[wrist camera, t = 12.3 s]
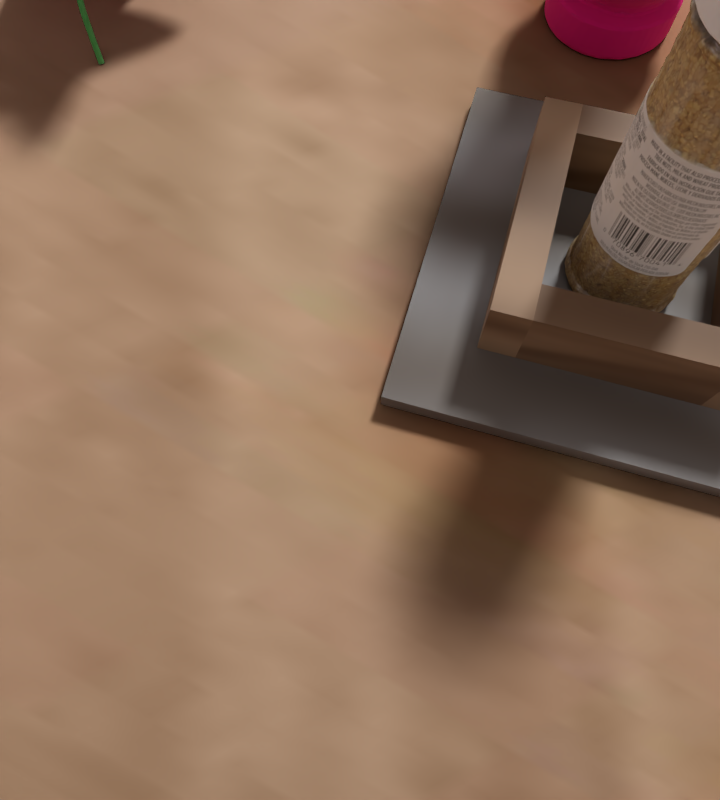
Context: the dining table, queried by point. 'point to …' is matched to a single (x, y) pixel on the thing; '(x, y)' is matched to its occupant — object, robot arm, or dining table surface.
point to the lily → (90, 31)
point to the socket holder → (554, 309)
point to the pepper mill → (611, 25)
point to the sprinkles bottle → (660, 181)
